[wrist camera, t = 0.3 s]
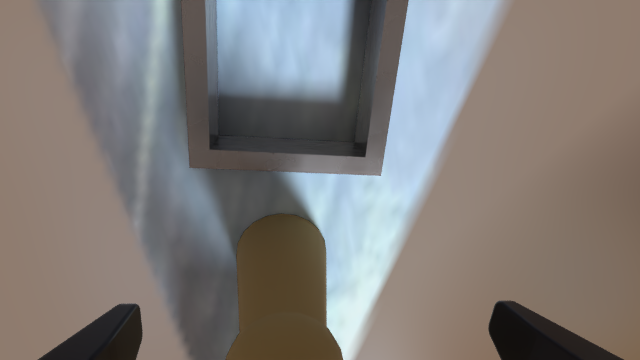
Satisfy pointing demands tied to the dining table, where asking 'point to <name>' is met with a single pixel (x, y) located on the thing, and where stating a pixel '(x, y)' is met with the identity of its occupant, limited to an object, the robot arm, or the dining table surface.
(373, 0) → the socket frame
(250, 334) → the cork
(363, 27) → the dining table surface
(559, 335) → the robot arm
